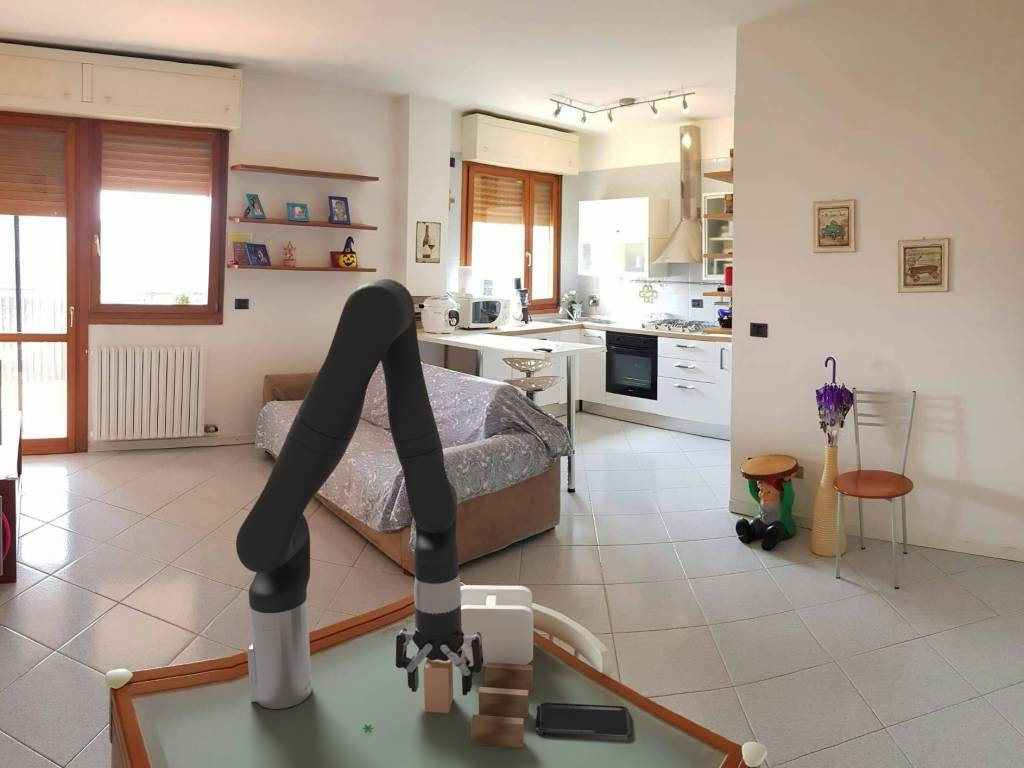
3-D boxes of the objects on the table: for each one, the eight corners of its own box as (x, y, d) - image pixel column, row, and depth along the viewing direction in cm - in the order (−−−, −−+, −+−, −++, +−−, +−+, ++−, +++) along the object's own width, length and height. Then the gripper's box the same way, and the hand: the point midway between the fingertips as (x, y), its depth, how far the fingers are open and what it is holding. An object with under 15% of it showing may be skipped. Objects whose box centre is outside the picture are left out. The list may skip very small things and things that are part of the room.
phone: (537, 702, 129) (628, 706, 128) (537, 708, 129) (628, 712, 128) (535, 732, 122) (631, 736, 120) (535, 738, 122) (631, 743, 121)
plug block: (424, 711, 128) (423, 667, 126) (430, 697, 132) (429, 654, 130) (448, 713, 127) (447, 668, 126) (453, 698, 131) (452, 655, 130)
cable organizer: (450, 668, 141) (449, 608, 138) (455, 638, 151) (454, 582, 149) (532, 669, 140) (533, 609, 138) (532, 639, 151) (533, 583, 148)
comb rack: (471, 743, 120) (471, 720, 119) (486, 683, 136) (486, 662, 135) (522, 747, 119) (522, 724, 118) (532, 686, 135) (532, 665, 134)
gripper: (388, 609, 123) (392, 701, 126) (477, 613, 121) (479, 707, 124) (400, 588, 130) (404, 675, 133) (484, 592, 129) (486, 680, 132)
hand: (440, 690), depth 129 cm, fingers open, 8 cm apart
